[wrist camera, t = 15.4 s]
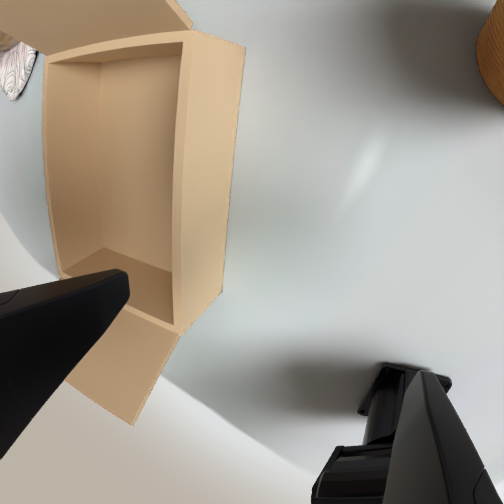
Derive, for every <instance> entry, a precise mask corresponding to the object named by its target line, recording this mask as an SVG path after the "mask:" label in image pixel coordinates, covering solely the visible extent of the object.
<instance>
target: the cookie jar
mask: <svg viewBox="0 0 504 504" xmlns="http://www.w3.org/2000/svg"><path fill="white" fill-rule="evenodd" d="M36 53H37V50H35V49H34V48H32V47H30V46H28V45H26V44H25V43H23V42H21V41H19V40H17V39H15V38H14V37H12V36H10V35H8V34H6V33H4V32H2V31H0V85H2V87H3V92H5V93H6V95H8V98H9V99H10V101H14V100H15V99H16V98H18V97H20V95H19V93H20V92H21V91H22V90H23V88H24V86H25V84H26V82H27V80H28V78H29V76H30V74H31V70H32V67H33V63H34V60H35V57H36Z"/></svg>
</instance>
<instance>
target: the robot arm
mask: <svg viewBox="0 0 504 504" xmlns="http://www.w3.org/2000/svg"><path fill="white" fill-rule="evenodd" d="M129 298H130V285H129V276H128V274H127V272H125V271H123V270H120V269H117V268H115V269H110V270H106V271H101V272H96V273H92V274H87V275H82V276H78V277H73V278H68V279H64V280H59V281H54V282H50V283H45V284H41V285H36V286H32V287H27V288H22V289H20V290H19V289H18V290H13V291H9V292H4V293H0V459H2V458H3V456H4V455H5V454H6V452H7V451H8V450H9V448H10V447H11V446H12V445H13V443H14V442H15V441H16V439H17V438H18V437H19V435H20V434H21V433H22V432H23V430H24V429H25V428H26V427H27V425H28V424H29V423H30V421H31V420H32V418H33V417H34V416H35V415H36V414H37V412H38V411H39V410H40V409H41V407H42V406H43V405H44V404H45V402H46V401H47V400H48V399H49V398H50V396H51V395H52V394H53V393H54V392H55V390H56V389H57V388H58V387H59V385H60V384H61V383H62V382H63V381H64V380H65V378H66V377H67V376H68V375H69V374H70V372H71V371H72V370H73V369H74V368H75V367H76V365H77V364H78V363H79V362H80V361H81V360H82V358H83V357H84V356H85V355H86V354H87V353H88V352H89V350H90V349H91V348H92V347H93V346H94V345H95V343H96V342H97V341H98V340H99V339H100V338H101V337H102V335H103V334H104V333H105V332H106V330H107V329H108V328H109V326H110V325H111V323H112V322H113V321H114V319H115V318H116V317H117V315H118V314H119V312H120V311H121V310H122V308H123V307H124V306H125V304H126V303H127V302H128V300H129ZM385 369H389V370H385ZM444 384H446V385H444ZM451 386H452V381H451V379H449V378H445V377H441V376H437V375H435V374H434V373H433V372H430V371H426V370H419V371H416V370H412V369H408V368H405V367H401V366H397V365H393V364H389V363H385V364H383V365H382V366H381V367H380V369H379V371H378V373H377V375H376V377H375V379H374V380H373V382H372V384H371V386H370V388H369V389H368V391H367V393H366V395H365V397H364V398H363V400H362V402H361V403H360V405H359V407H358V411H357V412H358V414H360V415H363V416H367V417H368V419H367V424H366V429H365V434H364V439H363V444H362V445H359V446H347V447H344V446H336V448H335V450H334V451H333V453H332V455H331V457H330V458H329V460H328V462H327V463H326V465H325V467H324V468H323V470H322V472H321V473H320V475H319V477H318V478H317V480H316V482H315V483H314V485H313V487H312V494H311V504H503V503H502V501H501V499H500V497H499V495H498V493H497V491H496V489H495V487H494V485H493V483H492V481H491V479H490V477H489V475H488V473H487V471H486V469H484V465H483V462H482V460H481V458H480V456H479V454H478V452H477V450H476V448H475V446H474V444H473V442H472V441H471V439H470V437H469V435H468V433H467V431H466V429H465V427H464V425H463V423H462V422H461V420H460V418H459V416H458V414H457V412H456V411H455V409H454V407H453V405H452V403H451V402H450V400H449V398H448V396H447V395H446V393H447V392H448V391H449V389H450V388H451Z"/></svg>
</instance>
